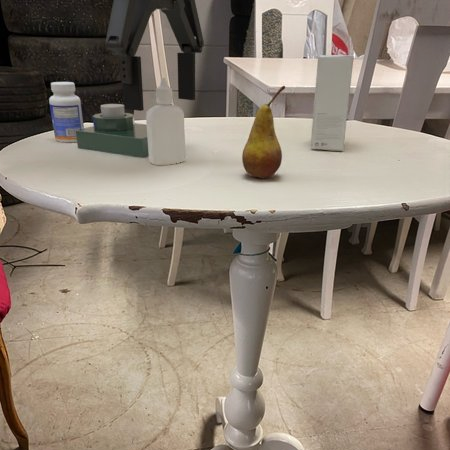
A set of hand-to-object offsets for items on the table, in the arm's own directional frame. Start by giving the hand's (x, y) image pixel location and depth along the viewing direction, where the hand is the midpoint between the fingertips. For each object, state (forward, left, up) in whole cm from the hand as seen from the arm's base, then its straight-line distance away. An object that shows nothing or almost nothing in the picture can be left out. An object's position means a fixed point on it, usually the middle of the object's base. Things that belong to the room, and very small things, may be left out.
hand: (162, 104), depth 69 cm
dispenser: (-12, +6, -9) cm, 16 cm away
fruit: (+16, 0, -9) cm, 19 cm away
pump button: (-15, +6, -4) cm, 16 cm away
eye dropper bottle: (0, 0, -9) cm, 9 cm away
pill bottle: (-25, +5, -9) cm, 27 cm away
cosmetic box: (+18, +25, -9) cm, 32 cm away
